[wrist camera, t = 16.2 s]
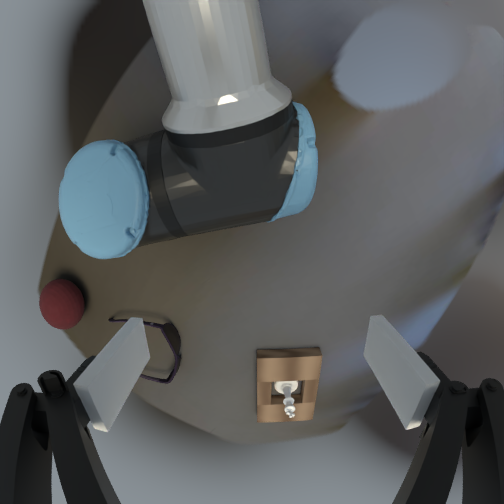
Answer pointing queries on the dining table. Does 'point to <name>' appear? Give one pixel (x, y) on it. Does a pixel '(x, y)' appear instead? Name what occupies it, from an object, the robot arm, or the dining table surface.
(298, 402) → the socket plate
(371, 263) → the dining table surface
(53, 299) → the decorative ball
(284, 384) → the chess piece
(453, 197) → the dining table surface
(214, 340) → the dining table surface
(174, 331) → the sunglasses
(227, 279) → the dining table surface
